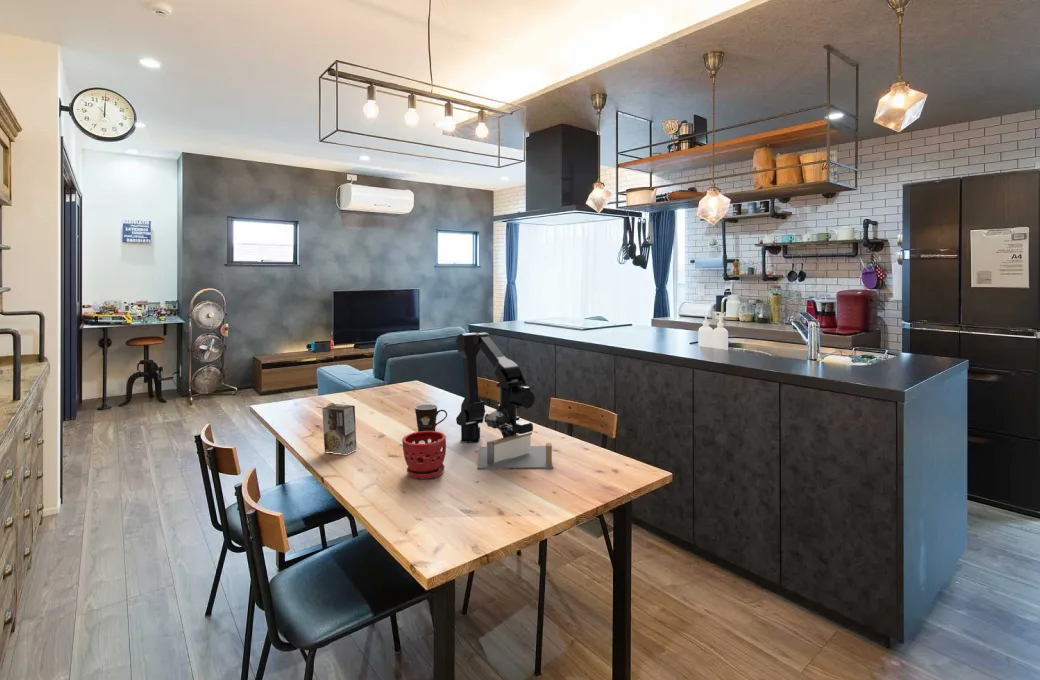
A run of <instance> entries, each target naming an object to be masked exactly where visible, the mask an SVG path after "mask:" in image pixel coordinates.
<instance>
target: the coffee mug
mask: <svg viewBox="0 0 1040 680" xmlns="http://www.w3.org/2000/svg"><path fill="white" fill-rule="evenodd" d="M414 410H415V411H414V413H415V418H416V425H417V432H420V431H436V427H437V426H438V425H439V424H440V423H442V422H444V421H445V420H446V419H447V417H448V412H447V411H446V410H445V409H439V410H438V405H436V404H432V403H431V404H430V403H429V404H427V403H426V404H418V405H416V406H414ZM440 412H443V413H445V417H443V419H441V420H440V421H437V417H438V415H439V413H440Z"/></svg>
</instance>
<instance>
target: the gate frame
mask: <svg viewBox="0 0 1040 680" xmlns="http://www.w3.org/2000/svg"><path fill="white" fill-rule="evenodd" d="M478 452H479V453H478V459H477V460H478V461H477V470H500V469H499V468H514V470H518V469H517V468H539V469H554V465H553V461H552V460H553V446H552V443H551V442H546V443H545V445H537V446H536V445H531V451H530V452H527V453H524V454H520V455H517V456H514V457H510V458H507V459H504V460H500V461H497V462H493V464H487V446H479V451H478Z"/></svg>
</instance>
